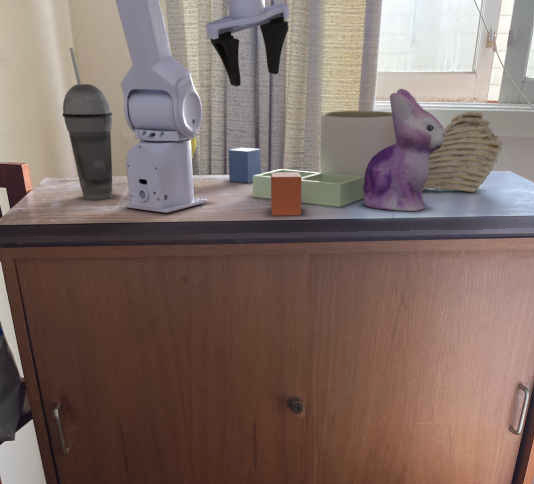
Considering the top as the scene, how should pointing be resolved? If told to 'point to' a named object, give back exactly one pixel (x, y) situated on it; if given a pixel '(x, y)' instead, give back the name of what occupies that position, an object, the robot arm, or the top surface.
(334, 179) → the tray
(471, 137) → the fossil tooth
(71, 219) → the top surface
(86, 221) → the top surface
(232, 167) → the blue block
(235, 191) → the top surface
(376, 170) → the figurine
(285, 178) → the terracotta block
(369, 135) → the planter
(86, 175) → the beverage cup
